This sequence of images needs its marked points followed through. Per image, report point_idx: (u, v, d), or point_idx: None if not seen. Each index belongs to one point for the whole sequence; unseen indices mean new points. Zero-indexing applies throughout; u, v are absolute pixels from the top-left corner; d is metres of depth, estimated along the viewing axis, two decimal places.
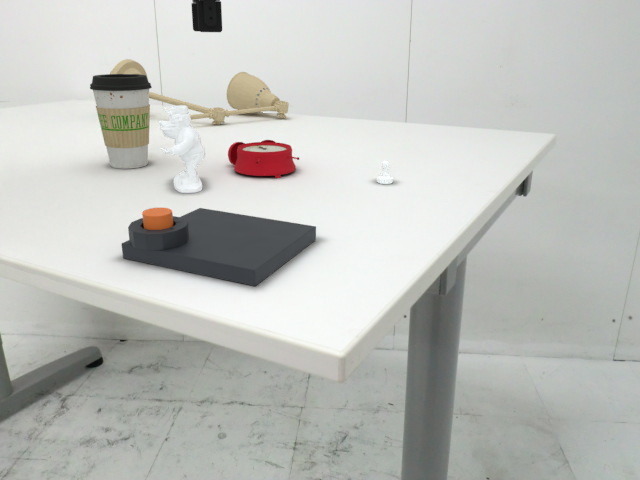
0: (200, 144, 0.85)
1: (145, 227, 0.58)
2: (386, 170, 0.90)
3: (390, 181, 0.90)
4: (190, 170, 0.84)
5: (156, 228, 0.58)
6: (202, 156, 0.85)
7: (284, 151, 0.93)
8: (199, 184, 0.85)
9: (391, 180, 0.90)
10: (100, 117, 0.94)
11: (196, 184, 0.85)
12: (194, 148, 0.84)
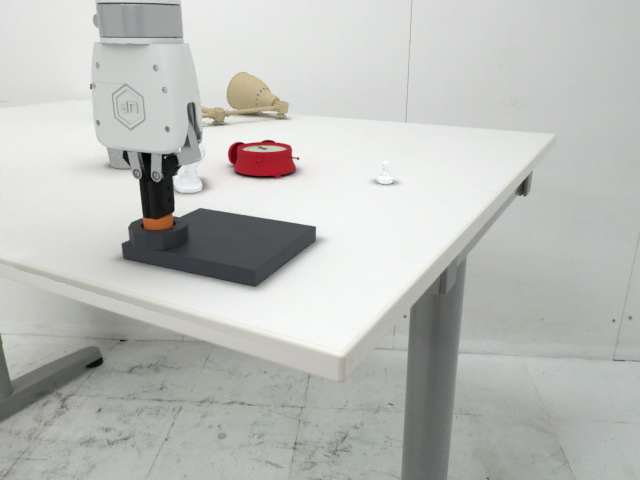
0: (200, 144, 0.85)
1: None
2: (386, 170, 0.90)
3: (390, 181, 0.90)
4: (190, 170, 0.84)
5: None
6: (202, 156, 0.85)
7: (284, 151, 0.93)
8: (199, 184, 0.85)
9: (391, 180, 0.90)
10: None
11: (196, 184, 0.85)
12: None
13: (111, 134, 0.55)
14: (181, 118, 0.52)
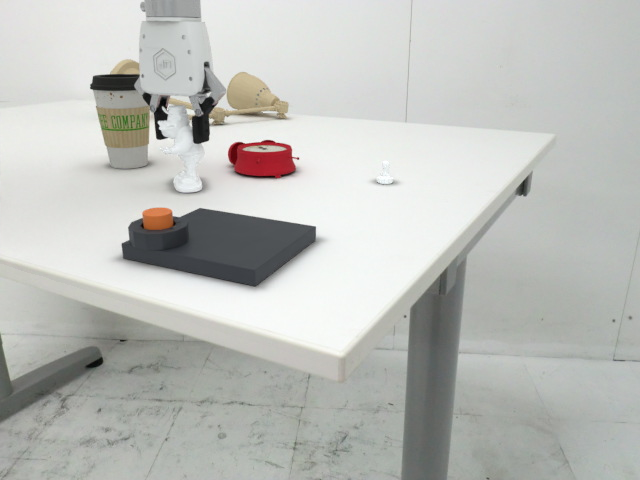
0: None
1: (145, 227, 0.58)
2: (386, 170, 0.90)
3: (390, 181, 0.90)
4: (190, 169, 0.84)
5: (156, 228, 0.58)
6: (201, 155, 0.85)
7: (284, 151, 0.93)
8: (199, 183, 0.85)
9: (391, 180, 0.90)
10: (100, 117, 0.94)
11: (196, 183, 0.85)
12: (194, 147, 0.84)
13: (152, 83, 0.81)
14: (200, 71, 0.78)
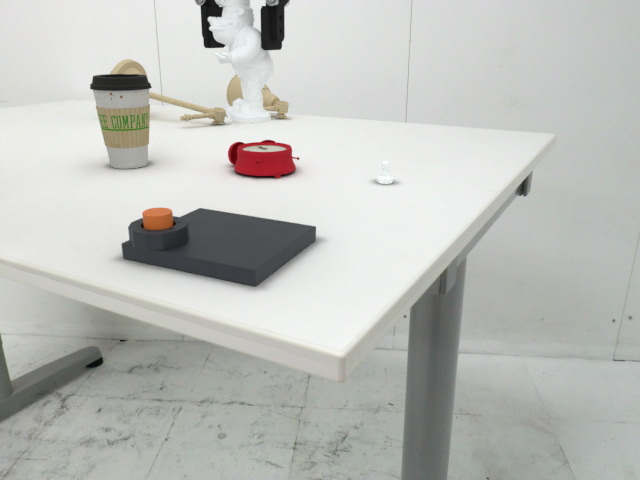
0: (268, 53, 0.58)
1: (145, 227, 0.58)
2: (386, 170, 0.90)
3: (390, 181, 0.90)
4: (254, 91, 0.57)
5: (156, 228, 0.58)
6: (271, 71, 0.58)
7: (284, 151, 0.93)
8: (266, 112, 0.58)
9: (391, 180, 0.90)
10: (100, 117, 0.94)
11: (262, 112, 0.58)
12: (261, 57, 0.57)
13: None
14: None
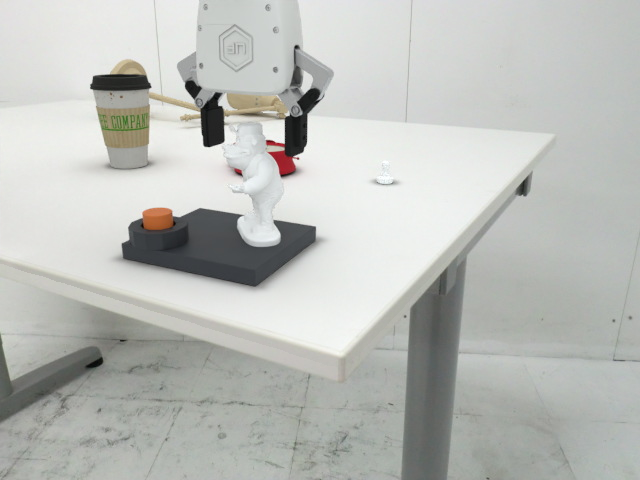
0: (279, 177, 0.60)
1: (145, 227, 0.58)
2: (386, 170, 0.90)
3: (390, 181, 0.90)
4: (265, 214, 0.60)
5: (156, 228, 0.58)
6: (281, 194, 0.60)
7: (284, 151, 0.93)
8: (276, 233, 0.61)
9: (391, 180, 0.90)
10: (100, 117, 0.94)
11: (272, 233, 0.61)
12: (272, 182, 0.59)
13: (215, 77, 0.55)
14: (289, 59, 0.53)
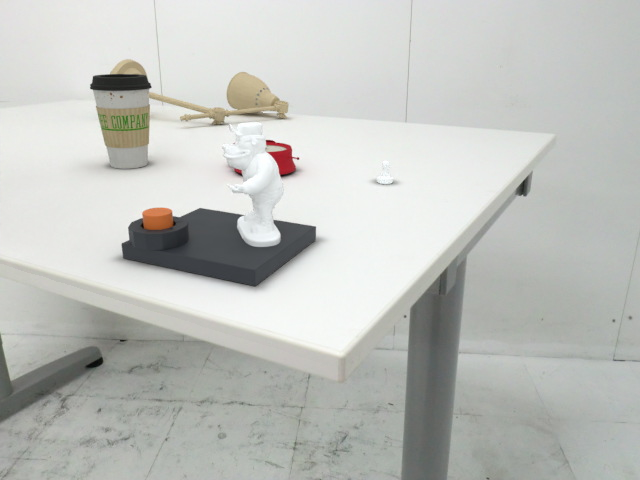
0: (279, 177, 0.60)
1: (145, 227, 0.58)
2: (386, 170, 0.90)
3: (390, 181, 0.90)
4: (265, 214, 0.60)
5: (156, 228, 0.58)
6: (281, 194, 0.60)
7: (284, 151, 0.93)
8: (276, 233, 0.61)
9: (391, 180, 0.90)
10: (100, 117, 0.94)
11: (272, 233, 0.61)
12: (272, 182, 0.59)
13: None
14: None
